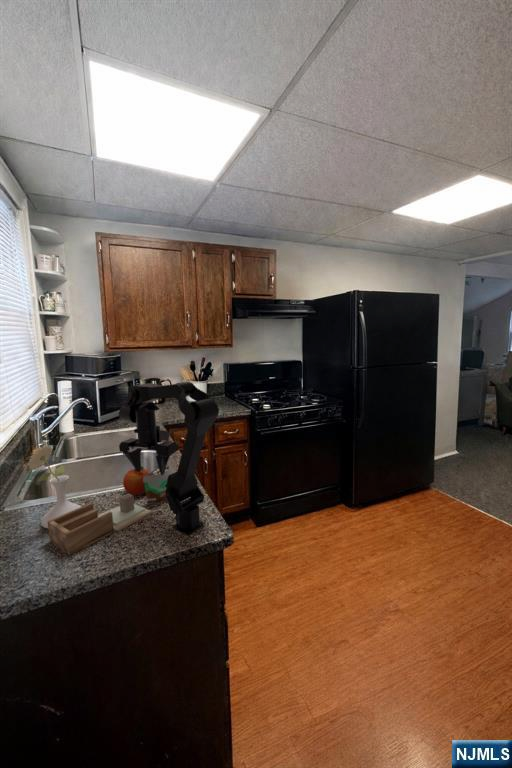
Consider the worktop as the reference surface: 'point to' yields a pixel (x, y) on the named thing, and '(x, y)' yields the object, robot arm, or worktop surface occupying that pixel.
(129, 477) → the fruit
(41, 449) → the flower in vase
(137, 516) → the mat
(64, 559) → the worktop surface
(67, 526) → the box
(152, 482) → the food container
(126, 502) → the lid
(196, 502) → the robot arm
